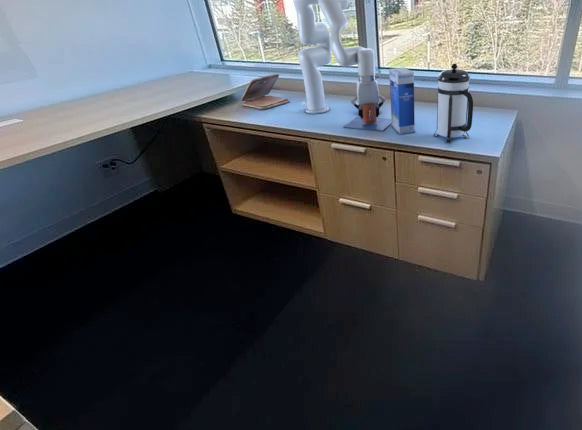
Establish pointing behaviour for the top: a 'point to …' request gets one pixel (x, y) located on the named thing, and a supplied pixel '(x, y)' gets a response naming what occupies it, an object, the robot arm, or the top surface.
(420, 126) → the top surface
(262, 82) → the case
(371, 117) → the mug
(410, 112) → the string lights box
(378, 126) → the blue rectangular mat
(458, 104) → the coffee press
